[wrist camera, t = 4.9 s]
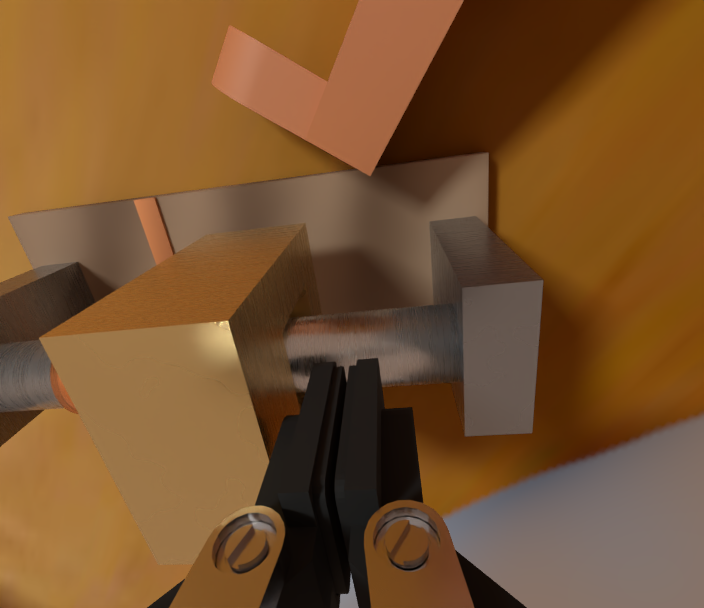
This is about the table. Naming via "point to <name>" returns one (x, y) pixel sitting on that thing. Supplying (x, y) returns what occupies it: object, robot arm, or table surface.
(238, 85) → the crank
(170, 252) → the base board
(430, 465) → the table surface
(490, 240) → the pipe rail
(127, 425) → the collar
